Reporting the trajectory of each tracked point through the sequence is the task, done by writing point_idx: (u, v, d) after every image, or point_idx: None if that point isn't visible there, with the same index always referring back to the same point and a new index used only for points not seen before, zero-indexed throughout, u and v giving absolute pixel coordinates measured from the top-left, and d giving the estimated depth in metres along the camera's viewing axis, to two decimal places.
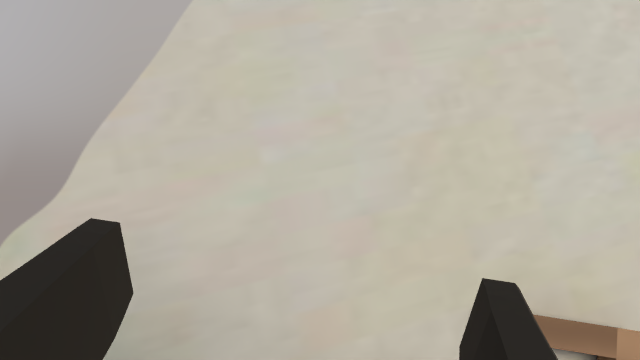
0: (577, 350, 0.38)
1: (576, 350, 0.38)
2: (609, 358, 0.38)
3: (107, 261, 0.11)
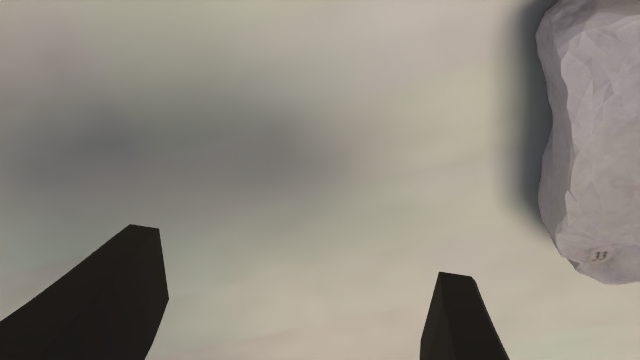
0: None
1: None
2: None
3: (147, 267, 0.10)
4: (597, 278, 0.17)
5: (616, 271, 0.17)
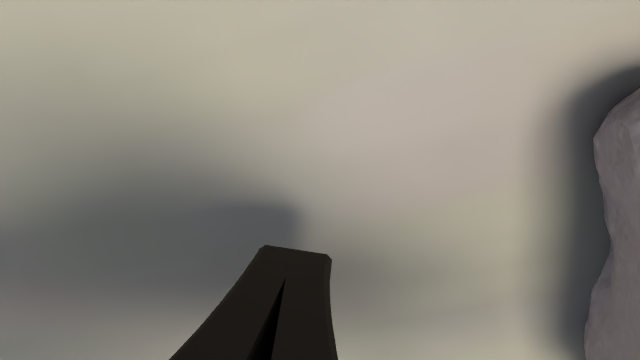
0: None
1: None
2: None
3: None
4: None
5: None
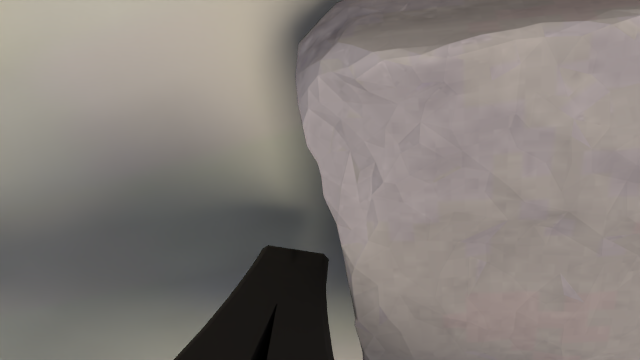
0: None
1: None
2: None
3: None
4: None
5: None
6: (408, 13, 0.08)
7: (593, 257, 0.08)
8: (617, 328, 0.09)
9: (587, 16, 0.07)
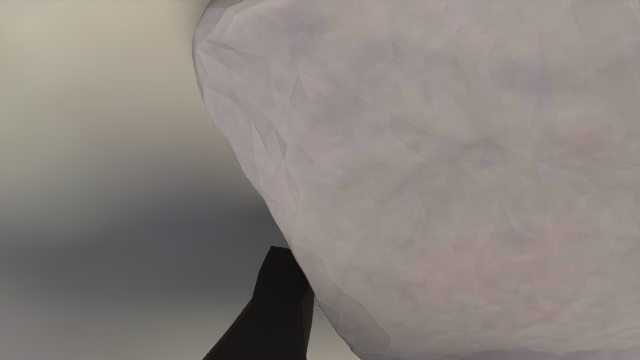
0: None
1: None
2: None
3: (310, 294, 0.10)
4: None
5: None
6: None
7: (533, 186, 0.07)
8: (590, 263, 0.08)
9: None
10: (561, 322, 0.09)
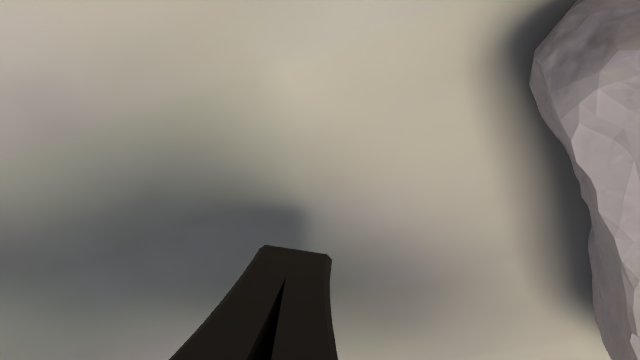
0: None
1: None
2: None
3: None
4: None
5: None
6: None
7: None
8: None
9: None
10: None
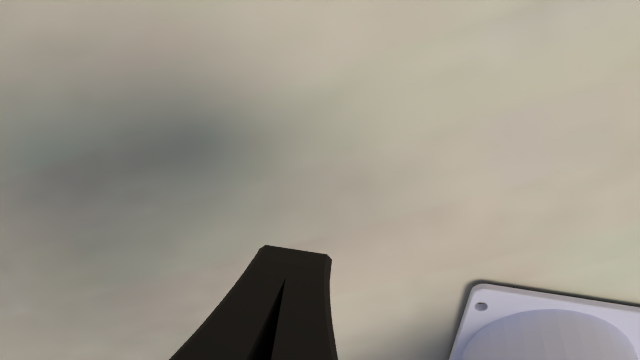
0: None
1: None
2: None
3: None
4: None
5: None
6: None
7: None
8: None
9: None
10: None
